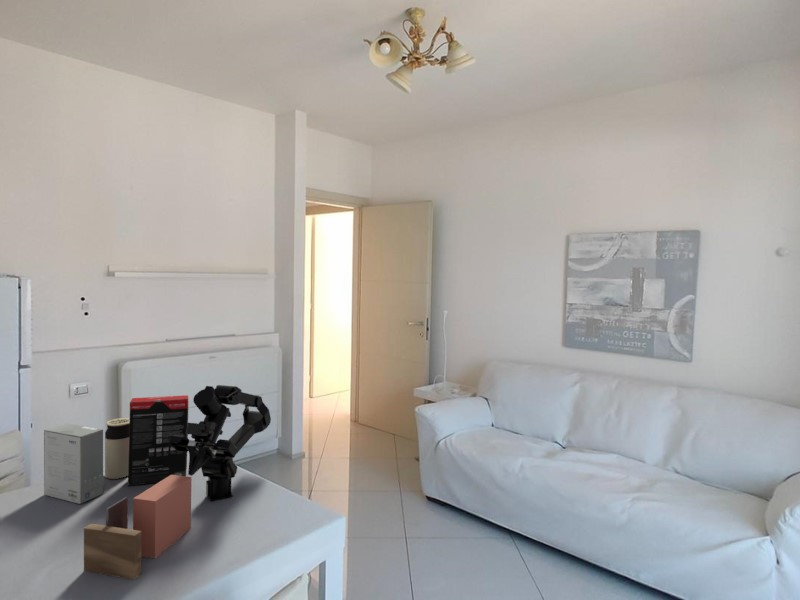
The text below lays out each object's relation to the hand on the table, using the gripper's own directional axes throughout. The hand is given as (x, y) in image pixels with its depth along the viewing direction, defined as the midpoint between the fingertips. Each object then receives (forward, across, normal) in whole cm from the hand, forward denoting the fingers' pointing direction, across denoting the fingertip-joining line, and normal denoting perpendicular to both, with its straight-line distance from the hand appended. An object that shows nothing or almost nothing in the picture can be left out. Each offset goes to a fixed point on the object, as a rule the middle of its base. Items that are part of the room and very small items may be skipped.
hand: (190, 474), depth 132 cm
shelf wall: (+26, -2, -9) cm, 28 cm away
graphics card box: (-5, -25, +23) cm, 34 cm away
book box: (+17, 0, +1) cm, 17 cm away
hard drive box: (+6, -42, +12) cm, 44 cm away
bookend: (+24, -7, -6) cm, 25 cm away
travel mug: (-5, -39, +23) cm, 46 cm away
